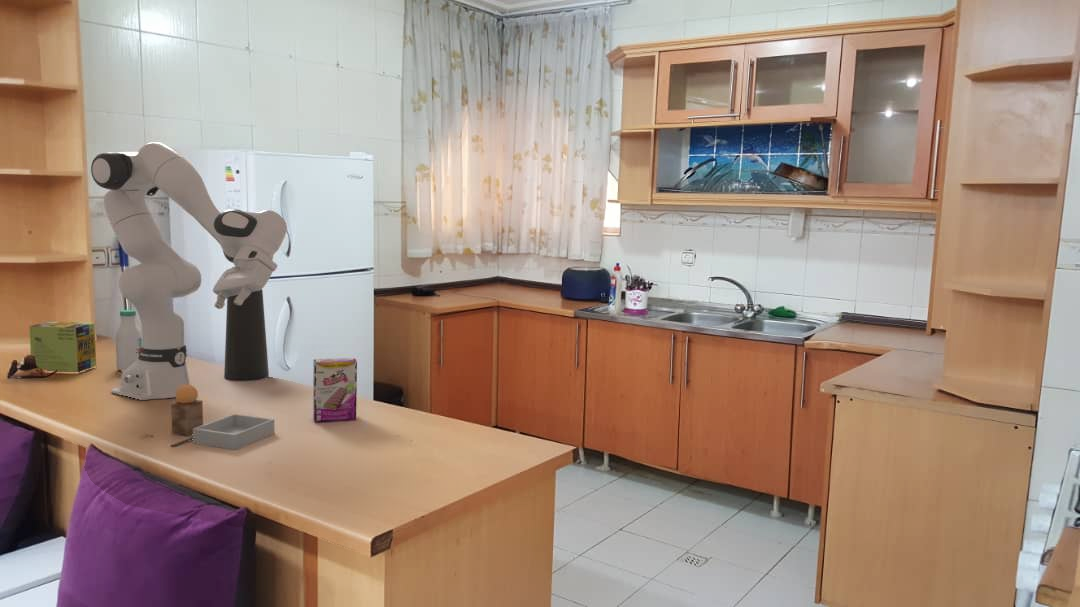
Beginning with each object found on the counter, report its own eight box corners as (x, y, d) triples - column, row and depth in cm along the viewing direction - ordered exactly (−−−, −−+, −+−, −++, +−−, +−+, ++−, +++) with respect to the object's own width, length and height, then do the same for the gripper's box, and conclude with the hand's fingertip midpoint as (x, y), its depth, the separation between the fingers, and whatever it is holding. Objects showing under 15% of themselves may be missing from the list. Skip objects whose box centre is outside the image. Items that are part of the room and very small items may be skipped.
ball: (171, 405, 186) (170, 386, 186) (186, 401, 191) (186, 381, 190) (187, 408, 185) (186, 388, 184) (202, 403, 189) (202, 383, 189)
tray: (193, 443, 181) (192, 428, 180) (234, 427, 194) (234, 413, 194) (234, 449, 177) (234, 435, 176) (274, 433, 190) (274, 419, 190)
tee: (172, 433, 187) (171, 403, 186) (187, 428, 192) (186, 398, 191) (188, 436, 186) (187, 405, 185) (203, 430, 190) (202, 400, 189)
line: (170, 446, 178) (170, 445, 178) (236, 422, 199) (236, 420, 199) (174, 446, 178) (174, 445, 178) (239, 422, 198) (239, 421, 198)
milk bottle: (135, 372, 250) (132, 312, 247) (111, 371, 250) (109, 311, 247) (147, 367, 257) (145, 309, 255) (125, 366, 257) (122, 308, 255)
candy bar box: (314, 423, 200) (313, 362, 198) (312, 418, 204) (312, 358, 202) (357, 420, 204) (357, 360, 202) (355, 415, 208) (355, 357, 206)
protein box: (78, 374, 244) (76, 327, 242) (30, 373, 244) (28, 325, 242) (97, 367, 255) (95, 322, 253) (51, 366, 255) (49, 320, 253)
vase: (247, 370, 258) (245, 285, 255) (277, 374, 253) (276, 288, 249) (214, 377, 246) (212, 289, 242) (246, 383, 240) (244, 292, 237)
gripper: (221, 261, 209) (197, 303, 203) (262, 251, 197) (238, 295, 190) (240, 274, 213) (216, 315, 207) (281, 265, 201) (258, 308, 194)
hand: (227, 305), depth 198 cm, fingers open, 8 cm apart
